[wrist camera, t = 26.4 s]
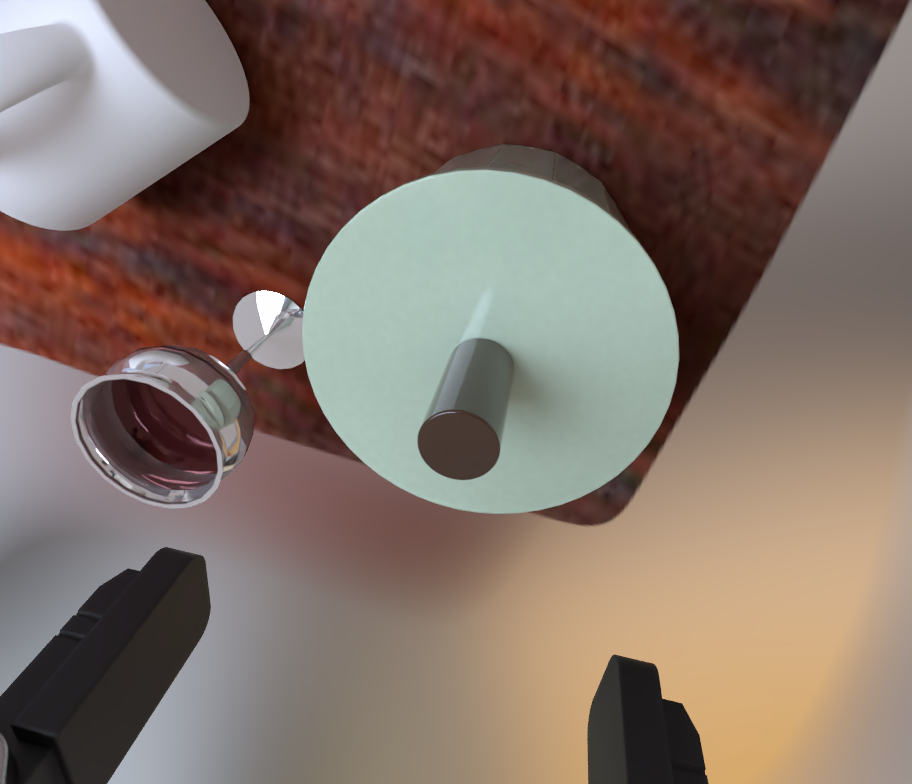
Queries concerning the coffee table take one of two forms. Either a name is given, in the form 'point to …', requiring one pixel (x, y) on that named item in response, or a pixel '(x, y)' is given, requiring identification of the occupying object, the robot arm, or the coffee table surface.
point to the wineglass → (182, 408)
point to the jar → (538, 169)
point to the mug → (107, 101)
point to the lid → (490, 340)
